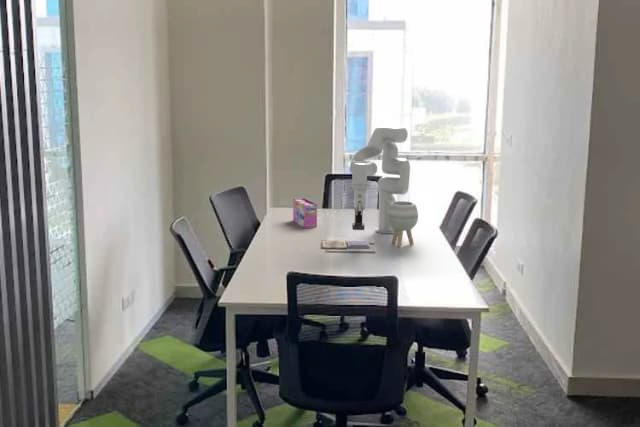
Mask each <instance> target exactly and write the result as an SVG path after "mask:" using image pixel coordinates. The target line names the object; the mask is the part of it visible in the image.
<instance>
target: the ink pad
mask: <svg viewBox="0 0 640 427" xmlns="http://www.w3.org/2000/svg"><path fill="white" fill-rule="evenodd" d="M346 242H347V249H370V243H369V241H367V240H346Z"/></svg>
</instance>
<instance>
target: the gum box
mask: <svg viewBox="0 0 640 427" xmlns="http://www.w3.org/2000/svg"><path fill="white" fill-rule="evenodd" d="M292 207H293V208H292V210H293V211H292V213H293V214H292V217H293V218H292V220H293V222H294V223H296V224H298V225H299V226H301V227H302V228H303V229H309V227H312V228H317V227H318V225H317V224H318V223H317V222H318V205H317V204H316V203H314V202H312V201H310V200H308V199H306V198H302V199H293V205H292Z"/></svg>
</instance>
